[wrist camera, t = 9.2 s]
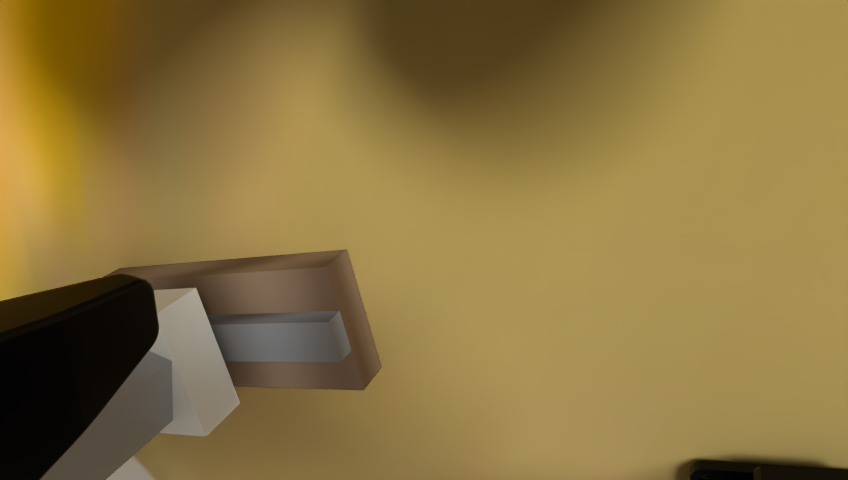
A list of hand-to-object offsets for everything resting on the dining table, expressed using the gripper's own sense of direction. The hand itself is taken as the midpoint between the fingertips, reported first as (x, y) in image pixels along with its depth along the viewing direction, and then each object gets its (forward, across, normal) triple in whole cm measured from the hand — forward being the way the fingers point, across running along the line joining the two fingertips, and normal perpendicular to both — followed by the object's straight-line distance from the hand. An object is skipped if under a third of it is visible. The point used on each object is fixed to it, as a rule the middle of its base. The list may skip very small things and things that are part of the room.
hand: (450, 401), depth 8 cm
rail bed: (+12, +12, +10) cm, 20 cm away
